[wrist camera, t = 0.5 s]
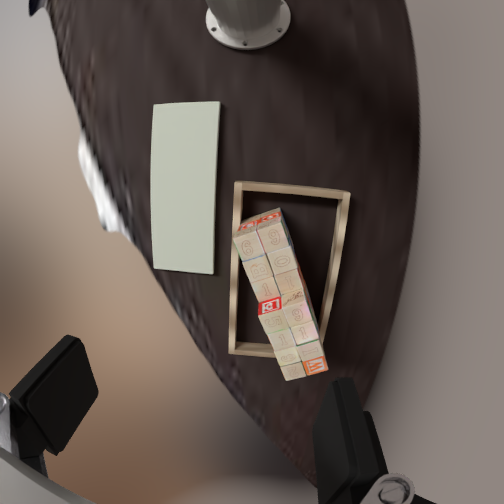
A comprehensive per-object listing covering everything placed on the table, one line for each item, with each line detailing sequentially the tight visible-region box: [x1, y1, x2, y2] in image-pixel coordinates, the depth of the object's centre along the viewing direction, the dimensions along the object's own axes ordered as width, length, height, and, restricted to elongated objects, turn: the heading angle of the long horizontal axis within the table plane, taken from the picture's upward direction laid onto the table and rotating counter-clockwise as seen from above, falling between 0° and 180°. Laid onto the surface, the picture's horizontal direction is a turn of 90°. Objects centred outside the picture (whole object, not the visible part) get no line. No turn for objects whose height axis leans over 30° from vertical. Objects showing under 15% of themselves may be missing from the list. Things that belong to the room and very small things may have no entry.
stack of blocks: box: [233, 208, 328, 381], centre depth 38 cm, size 21×6×12 cm, turn 20°
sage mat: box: [151, 102, 221, 274], centre depth 40 cm, size 26×10×1 cm, turn 176°
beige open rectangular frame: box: [229, 181, 350, 358], centre depth 43 cm, size 29×16×2 cm, turn 176°
